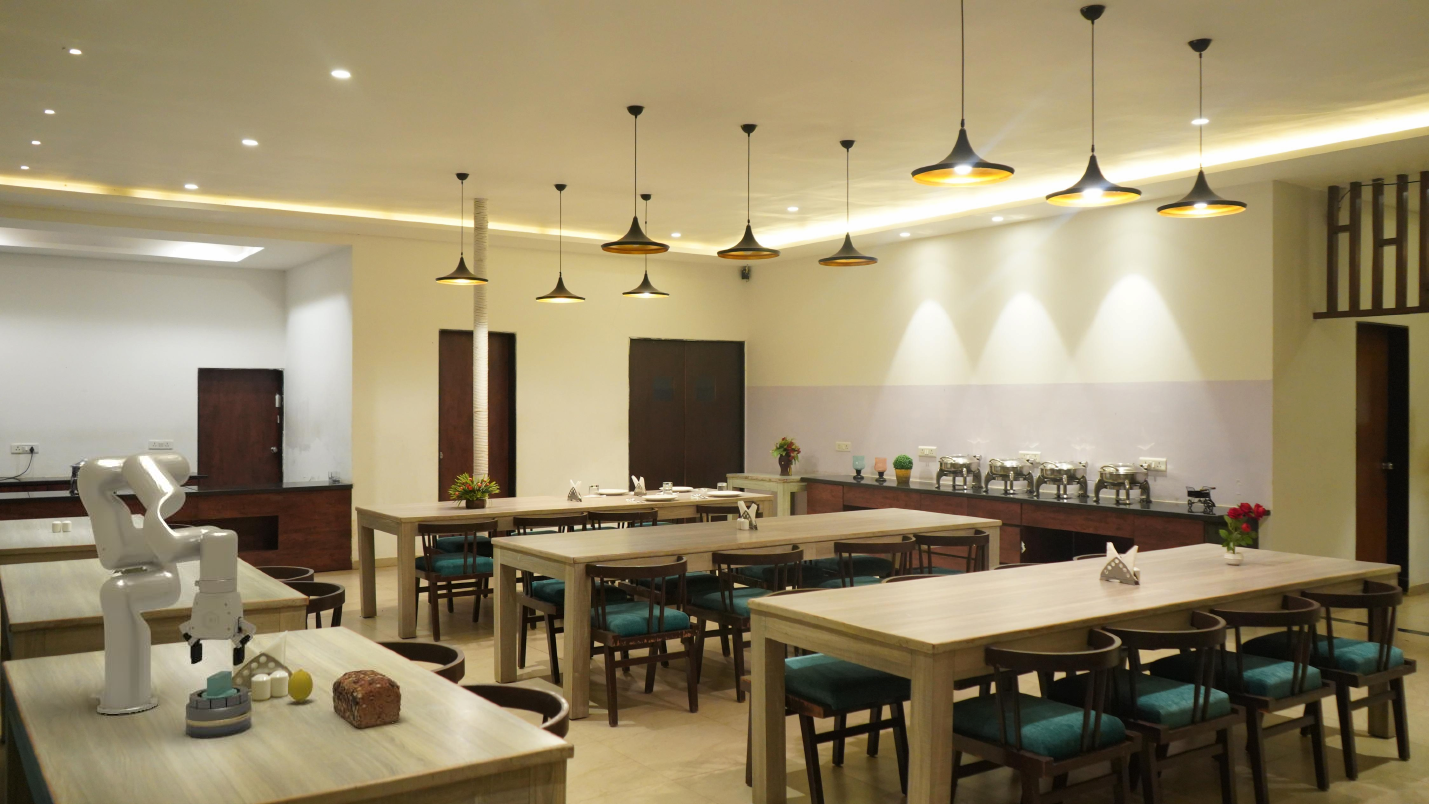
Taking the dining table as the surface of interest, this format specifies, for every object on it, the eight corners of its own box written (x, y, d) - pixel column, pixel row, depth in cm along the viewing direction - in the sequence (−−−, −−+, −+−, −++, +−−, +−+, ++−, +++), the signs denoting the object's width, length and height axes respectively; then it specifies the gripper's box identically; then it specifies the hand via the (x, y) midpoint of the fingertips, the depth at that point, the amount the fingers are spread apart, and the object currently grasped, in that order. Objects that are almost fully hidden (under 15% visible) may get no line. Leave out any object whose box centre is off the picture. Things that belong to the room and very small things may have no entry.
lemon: (304, 706, 244) (304, 672, 244) (283, 705, 245) (283, 671, 245) (317, 699, 249) (317, 666, 249) (297, 698, 250) (296, 665, 250)
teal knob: (195, 705, 223) (195, 678, 223) (212, 696, 230) (212, 670, 230) (226, 706, 223) (226, 678, 223) (243, 697, 230) (242, 670, 230)
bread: (402, 722, 231) (402, 678, 231) (354, 731, 225) (354, 685, 225) (376, 703, 246) (376, 661, 246) (330, 711, 240) (330, 668, 240)
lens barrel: (172, 737, 221) (172, 700, 221) (207, 719, 234) (207, 684, 234) (230, 739, 219) (230, 701, 219) (263, 720, 233) (263, 685, 233)
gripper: (170, 588, 224) (169, 666, 224) (246, 590, 222) (245, 669, 222) (191, 581, 231) (190, 657, 231) (264, 584, 230) (263, 660, 230)
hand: (217, 663), depth 227 cm, fingers open, 9 cm apart
